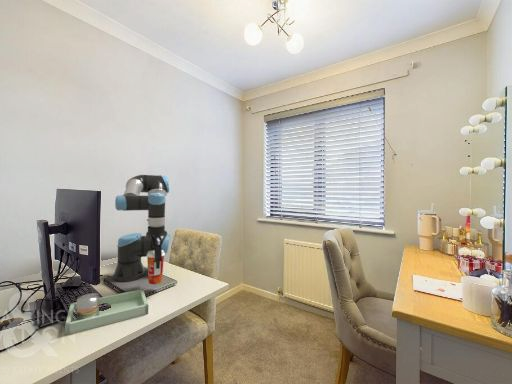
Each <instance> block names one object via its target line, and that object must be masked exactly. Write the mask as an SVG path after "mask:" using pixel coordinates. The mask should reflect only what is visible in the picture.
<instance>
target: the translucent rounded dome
mask: <svg viewBox="0 0 512 384" xmlns="http://www.w3.org/2000/svg"><path fill="white" fill-rule="evenodd" d="M99 298H100V294H99V293H97V292H95V293H93V292H92V293H91V292H90V293H86V294H83V295H81V296H79V297H78V298H77V299H76V302H77V321H78V320H82V319H86V318H90V317H95V316H99V303H100V302H99Z"/></svg>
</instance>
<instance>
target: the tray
mask: <svg viewBox="0 0 512 384" xmlns="http://www.w3.org/2000/svg"><path fill="white" fill-rule="evenodd" d="M99 302H100V303H99V304H103V303H108V304H110V305H111V308H109V309H107V310H104V311H99V316H95V317H90V318H86V319H82V320H78V321H77V318H76V319H73V312H74V309H77V301H76V302H72V303H70V306H69V309H68V313H67V317H66V321H65V324H64V330H65V331H64V333H65V336H67V335H71V334H72V335H73V334H76V333H79V332H83V331H84V332H85V331H87V330H91V329H95V328H98V327H103V326H106V325H110V324H115V323H118V322H122V321H126V320H129V319H132V318H138V317H141V316H142V317H143V316H144V315H148V314H149V302H148V300H147V297H146V294H145V290H144V288H142V289H136V290H130V291H126V292H122V293H121V292H120V293H117V294H110V295H106V296H102V297H101V296H100V297H99Z"/></svg>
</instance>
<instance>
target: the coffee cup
mask: <svg viewBox="0 0 512 384" xmlns="http://www.w3.org/2000/svg"><path fill="white" fill-rule="evenodd" d="M165 255H166V254H165V253H164V251H163V250H162V261H161V273H160V274H159V275H154V262H153V261H155V252H154V250H152V251H149V252H148V253H147V255H146V256H147V257H146V259H147V279H148V283H149V284H150V285H157V284H161V283H162V282H163V274H164V273H163V272H164V261H165Z"/></svg>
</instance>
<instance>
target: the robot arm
mask: <svg viewBox="0 0 512 384" xmlns="http://www.w3.org/2000/svg"><path fill="white" fill-rule="evenodd" d="M141 193H147V195H140V194H141ZM169 193H170V184H169V178H168V177H167V176H166V175H161V174H160V175H153V174H152V175H151V174H139V175H135V176H132V177H131V178H129V179H128V180H127V181H126V183H125V190H124V193H123V194H121V195H119V194H118V195H116V197H115V200H114V201H115V202H114V206H115V207H114V208H115V209H116V210H117V211H124V212H127V211H128V212H129V211H147V214H148V215H147V219H146V221H147V225H148V226H147V231H146V234H145V235H142V233H139V232H135V233H134V232H133V233H129V234H125V235H122V236H121V237H119V238H118V240H117V246H116V247H117V265H116V267H115V270H114V273H113V280H114V279H115V280H114V281H116V280H118V281H117V282H121V281H125V282H132V281H135V279H136V280H139V279H140V277H141V278H143V277H144V276H143V275H145V267H144V265H143V263H142V258H147V256H146V255H147V253H148V252H149V251H152V250H154V252H155V261H153V262H154V275H159V274H160V273H161V261H162V250H163V251H164V253H165V255H167V254H168V252H169V244H170V234H168V231H167V230H166V229H165V225H166V196H167V195H168V194H169ZM142 276H143V277H142ZM138 278H139V279H138ZM131 280H132V281H131Z"/></svg>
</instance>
